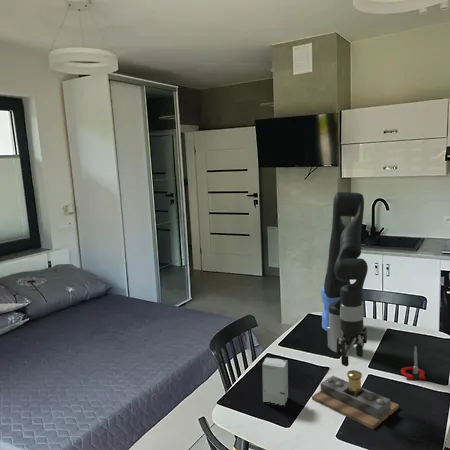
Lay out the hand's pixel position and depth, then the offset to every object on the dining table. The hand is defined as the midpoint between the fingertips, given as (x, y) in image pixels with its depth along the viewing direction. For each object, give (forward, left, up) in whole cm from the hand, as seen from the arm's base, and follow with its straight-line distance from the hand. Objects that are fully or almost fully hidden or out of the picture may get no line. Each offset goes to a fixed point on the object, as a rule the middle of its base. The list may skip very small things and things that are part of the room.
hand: (352, 360), depth 144 cm
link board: (0, 0, -16) cm, 16 cm away
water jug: (-42, +50, -16) cm, 67 cm away
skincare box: (-21, -17, -16) cm, 31 cm away
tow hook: (+5, +32, -16) cm, 36 cm away
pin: (0, +1, -15) cm, 15 cm away
